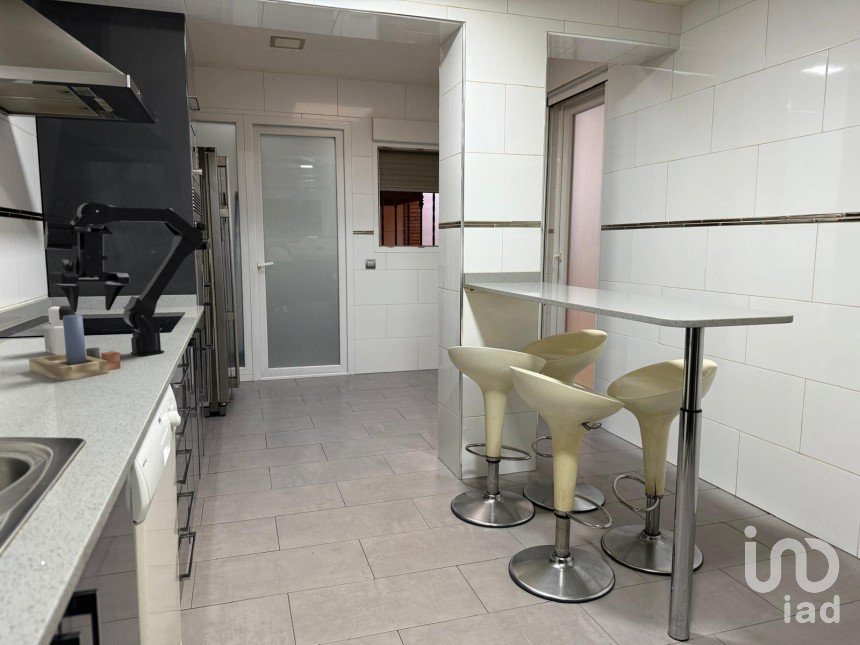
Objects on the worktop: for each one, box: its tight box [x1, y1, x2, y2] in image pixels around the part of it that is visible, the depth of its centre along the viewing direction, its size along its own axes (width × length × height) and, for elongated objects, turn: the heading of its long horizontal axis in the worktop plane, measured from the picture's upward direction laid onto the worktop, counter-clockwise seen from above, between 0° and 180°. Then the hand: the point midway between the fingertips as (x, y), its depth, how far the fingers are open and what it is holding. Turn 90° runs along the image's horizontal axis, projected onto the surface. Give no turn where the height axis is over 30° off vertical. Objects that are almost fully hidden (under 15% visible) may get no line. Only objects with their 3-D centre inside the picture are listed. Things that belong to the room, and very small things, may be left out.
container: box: [42, 305, 77, 355], centre depth 172 cm, size 8×8×13 cm
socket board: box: [28, 347, 122, 382], centre depth 148 cm, size 14×18×4 cm
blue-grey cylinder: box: [63, 314, 86, 366], centre depth 143 cm, size 4×4×14 cm
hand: (91, 311), depth 159 cm, fingers open, 9 cm apart
